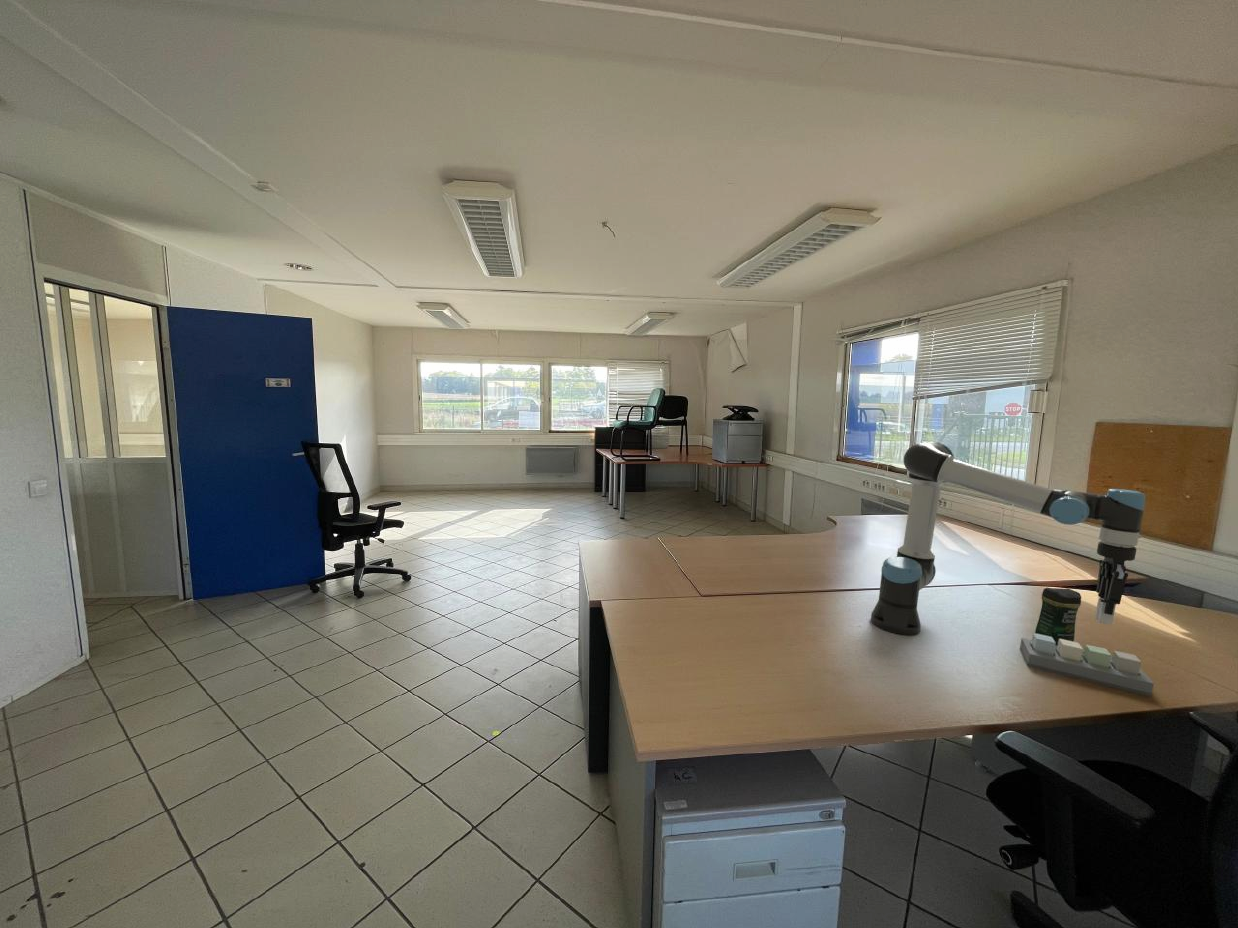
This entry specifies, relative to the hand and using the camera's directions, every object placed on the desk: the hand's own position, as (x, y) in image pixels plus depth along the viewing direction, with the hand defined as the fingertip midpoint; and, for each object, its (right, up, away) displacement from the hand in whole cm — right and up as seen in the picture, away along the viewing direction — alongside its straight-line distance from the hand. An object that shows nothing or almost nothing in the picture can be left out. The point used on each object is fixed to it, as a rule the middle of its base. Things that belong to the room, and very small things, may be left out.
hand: (1103, 621), depth 136 cm
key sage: (0, -13, +2) cm, 13 cm away
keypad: (-3, -16, +4) cm, 17 cm away
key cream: (-6, -12, +5) cm, 14 cm away
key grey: (+5, -13, -1) cm, 14 cm away
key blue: (-11, -11, +8) cm, 17 cm away
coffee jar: (+6, -14, +22) cm, 27 cm away
